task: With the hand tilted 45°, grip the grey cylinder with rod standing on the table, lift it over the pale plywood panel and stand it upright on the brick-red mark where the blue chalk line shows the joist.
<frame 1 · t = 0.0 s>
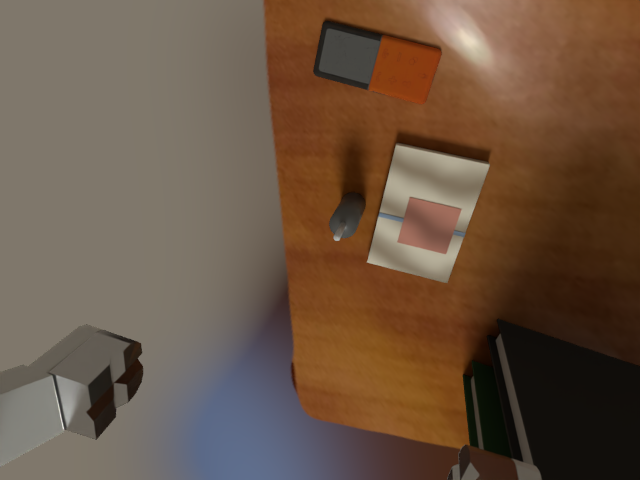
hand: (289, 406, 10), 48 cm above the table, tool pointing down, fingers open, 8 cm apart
grey cylinder with rod: (353, 204, 59), on the table
phone: (375, 62, 51), on the table
binder: (565, 377, 62), on the table
plywood panel: (423, 214, 57), on the table
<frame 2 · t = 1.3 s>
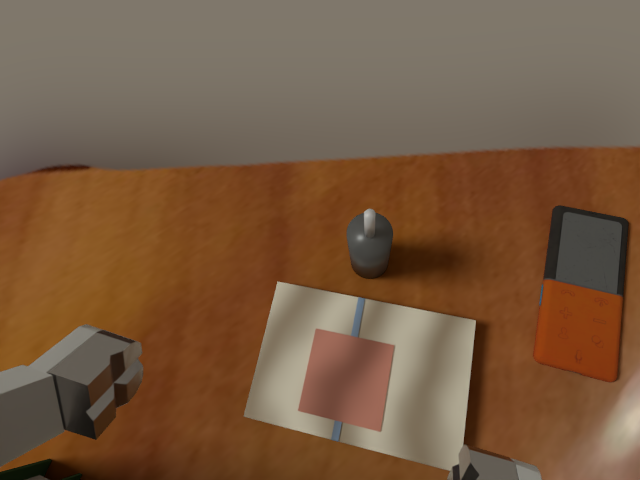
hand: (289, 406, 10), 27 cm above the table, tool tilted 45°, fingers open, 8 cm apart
grey cylinder with rod: (369, 260, 39), on the table
phone: (577, 289, 37), on the table
plywood panel: (360, 368, 36), on the table
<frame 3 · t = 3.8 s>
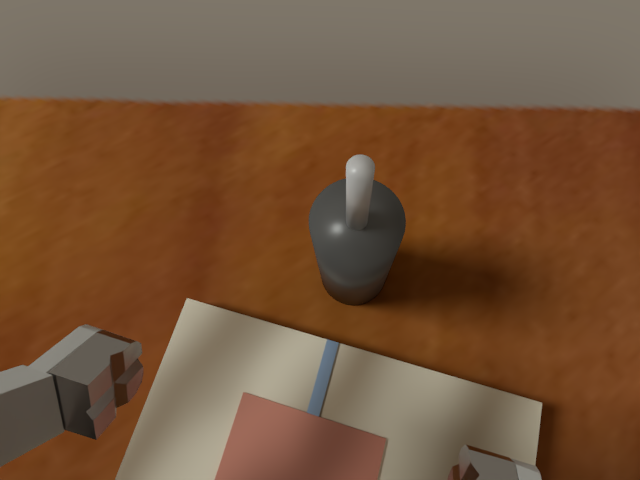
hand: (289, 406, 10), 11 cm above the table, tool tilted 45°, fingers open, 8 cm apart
grey cylinder with rod: (353, 273, 22), on the table
plywood panel: (320, 472, 19), on the table
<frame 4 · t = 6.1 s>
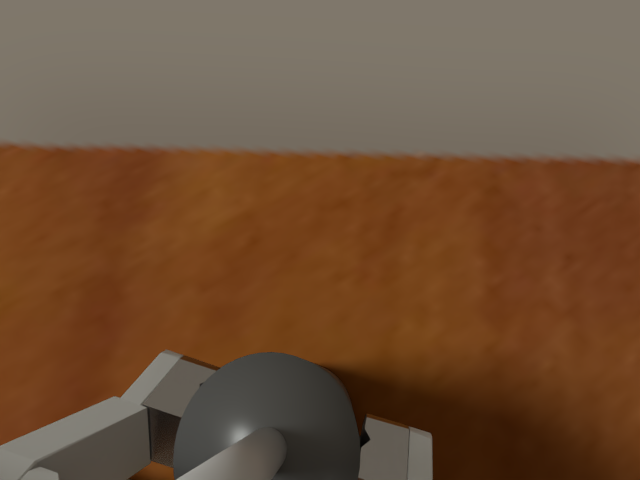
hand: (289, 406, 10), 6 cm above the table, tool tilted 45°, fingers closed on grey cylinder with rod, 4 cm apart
grey cylinder with rod: (305, 412, 15), on the table, touching gripper
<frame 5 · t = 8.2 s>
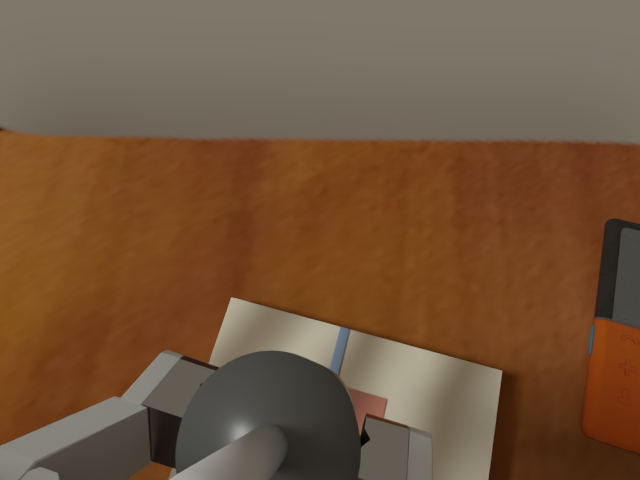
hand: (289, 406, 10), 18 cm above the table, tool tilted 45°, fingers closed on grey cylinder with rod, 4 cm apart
grey cylinder with rod: (306, 411, 15), point 12 cm above the table, touching gripper
phone: (637, 333, 27), on the table
plywood panel: (337, 426, 26), on the table
when the fingers open (9 cm above the table, at t = 10.3 s): grey cylinder with rod drops 1 cm, resting on plywood panel.
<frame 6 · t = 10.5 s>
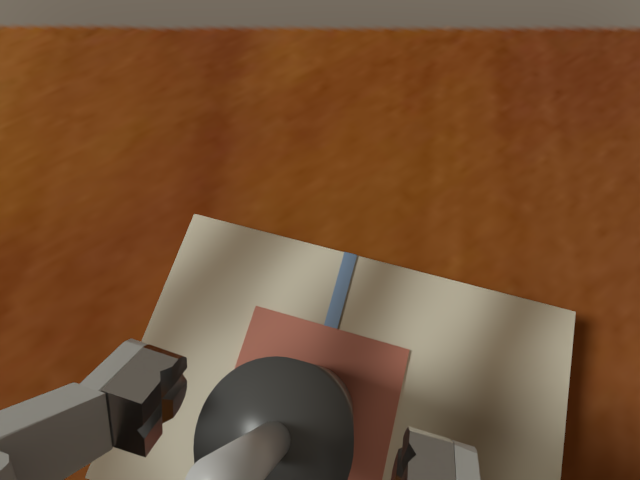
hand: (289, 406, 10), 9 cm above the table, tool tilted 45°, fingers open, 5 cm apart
grey cylinder with rod: (309, 410, 16), point 2 cm above the table, touching plywood panel
plywood panel: (338, 391, 18), on the table
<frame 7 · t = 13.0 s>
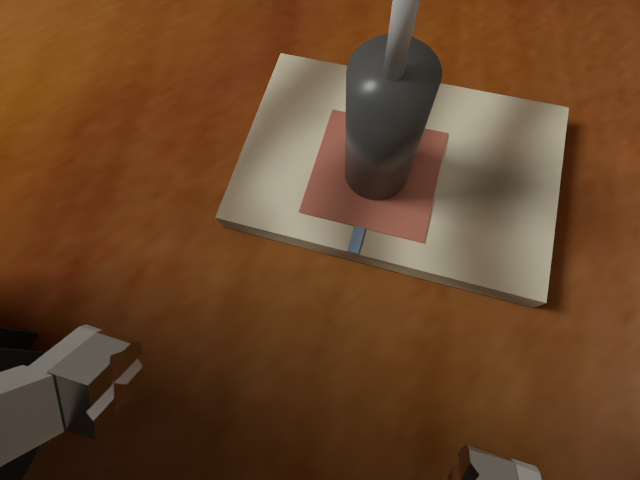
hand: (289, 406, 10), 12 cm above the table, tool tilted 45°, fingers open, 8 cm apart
grey cylinder with rod: (376, 171, 23), point 2 cm above the table, touching plywood panel
plywood panel: (392, 173, 24), on the table
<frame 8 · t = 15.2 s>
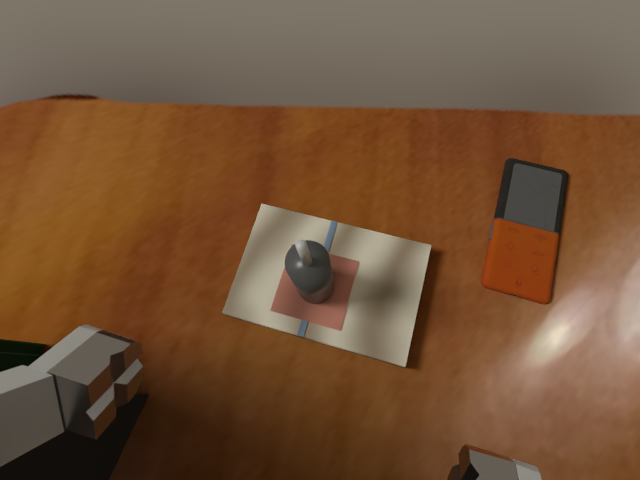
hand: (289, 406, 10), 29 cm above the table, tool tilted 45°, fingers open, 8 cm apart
grey cylinder with rod: (315, 285, 39), point 2 cm above the table, touching plywood panel
phone: (522, 229, 42), on the table
plywood panel: (328, 282, 41), on the table
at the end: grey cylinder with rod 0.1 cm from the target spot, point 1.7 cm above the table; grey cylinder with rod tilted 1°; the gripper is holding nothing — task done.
